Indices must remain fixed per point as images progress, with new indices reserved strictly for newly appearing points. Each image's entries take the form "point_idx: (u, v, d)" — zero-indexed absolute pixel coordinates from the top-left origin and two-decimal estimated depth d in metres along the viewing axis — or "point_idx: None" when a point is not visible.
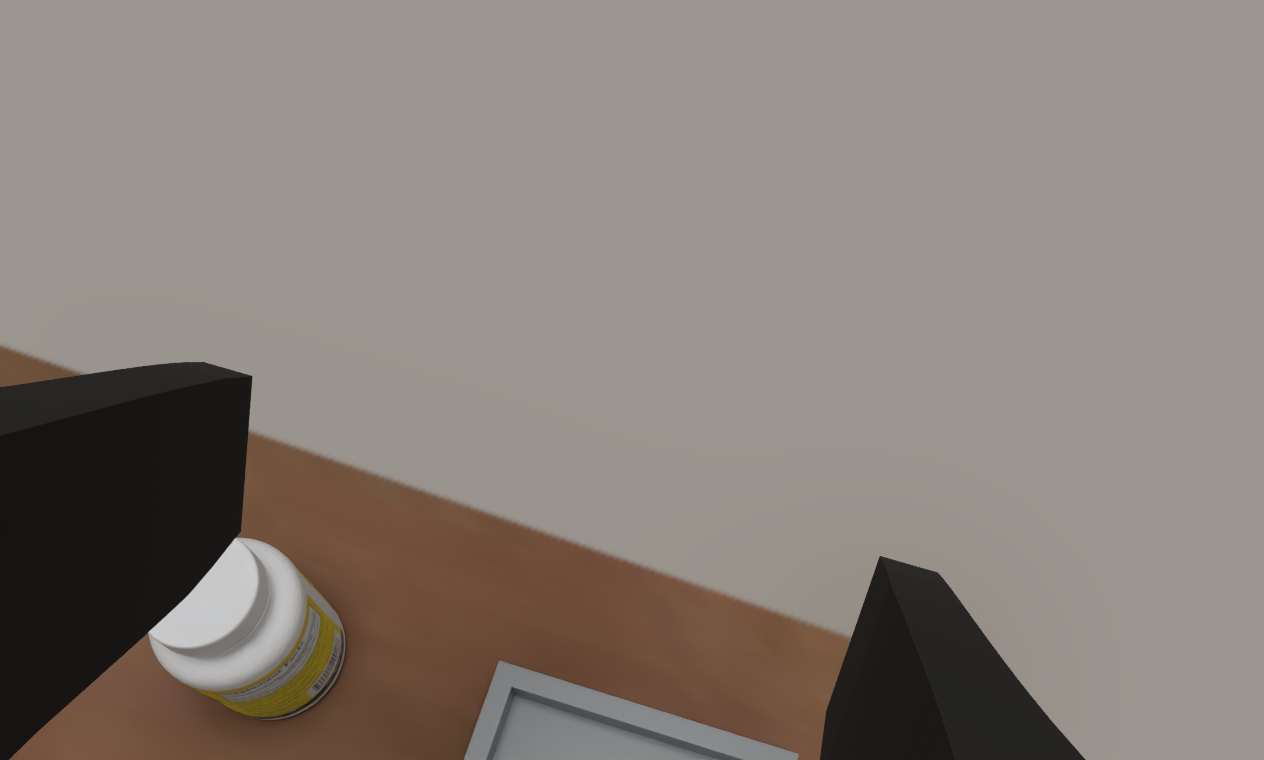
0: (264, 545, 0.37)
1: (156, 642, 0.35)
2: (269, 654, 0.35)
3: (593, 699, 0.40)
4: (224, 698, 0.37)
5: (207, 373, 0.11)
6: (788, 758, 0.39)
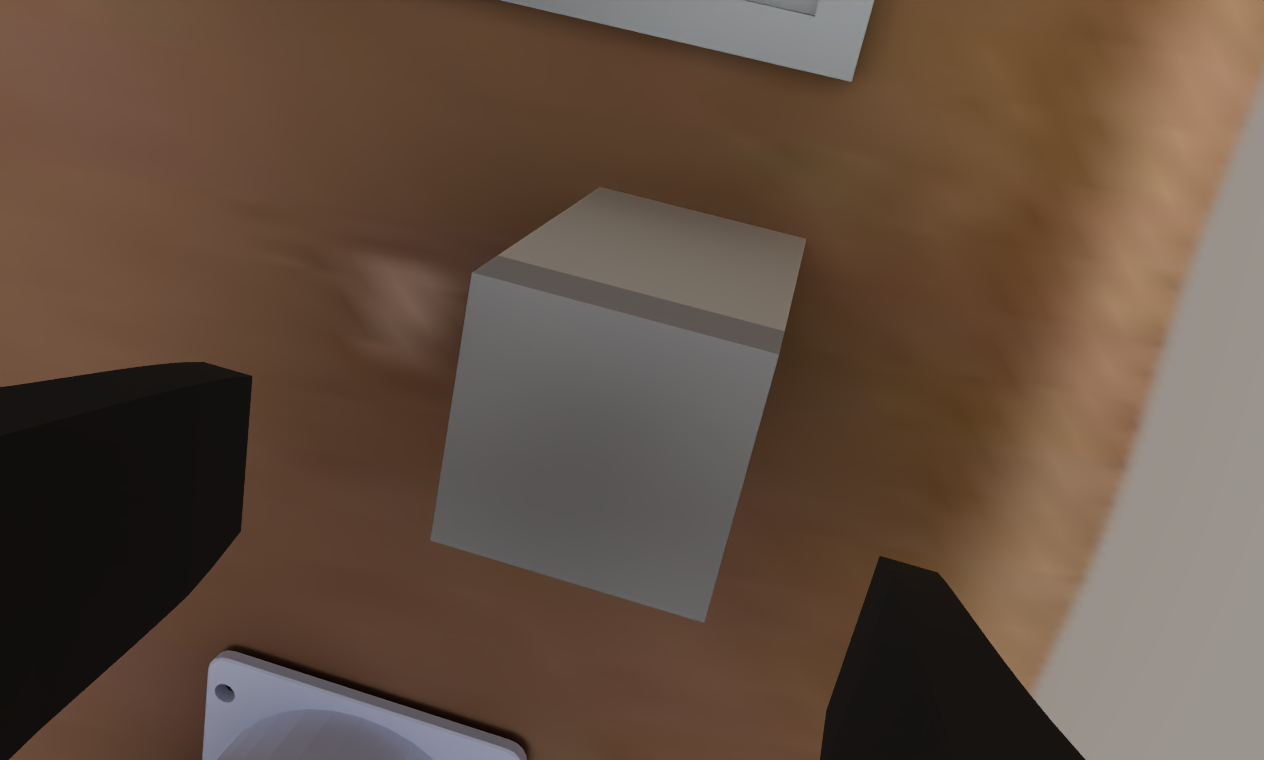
0: None
1: None
2: None
3: None
4: None
5: (207, 373, 0.11)
6: None
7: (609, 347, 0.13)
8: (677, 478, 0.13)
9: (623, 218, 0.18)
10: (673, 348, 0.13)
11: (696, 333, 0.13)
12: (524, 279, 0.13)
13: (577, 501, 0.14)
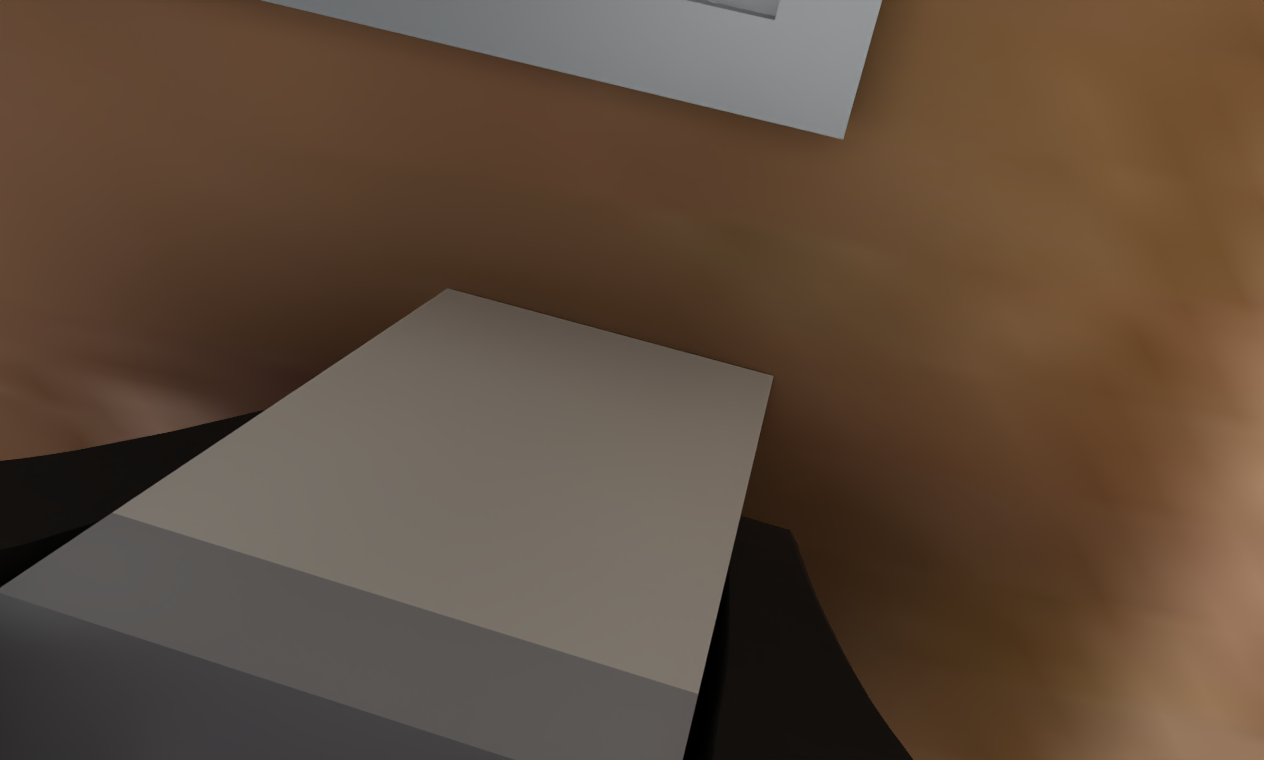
0: None
1: None
2: None
3: None
4: None
5: None
6: None
7: None
8: None
9: (457, 362, 0.10)
10: None
11: (480, 754, 0.06)
12: (124, 595, 0.06)
13: None
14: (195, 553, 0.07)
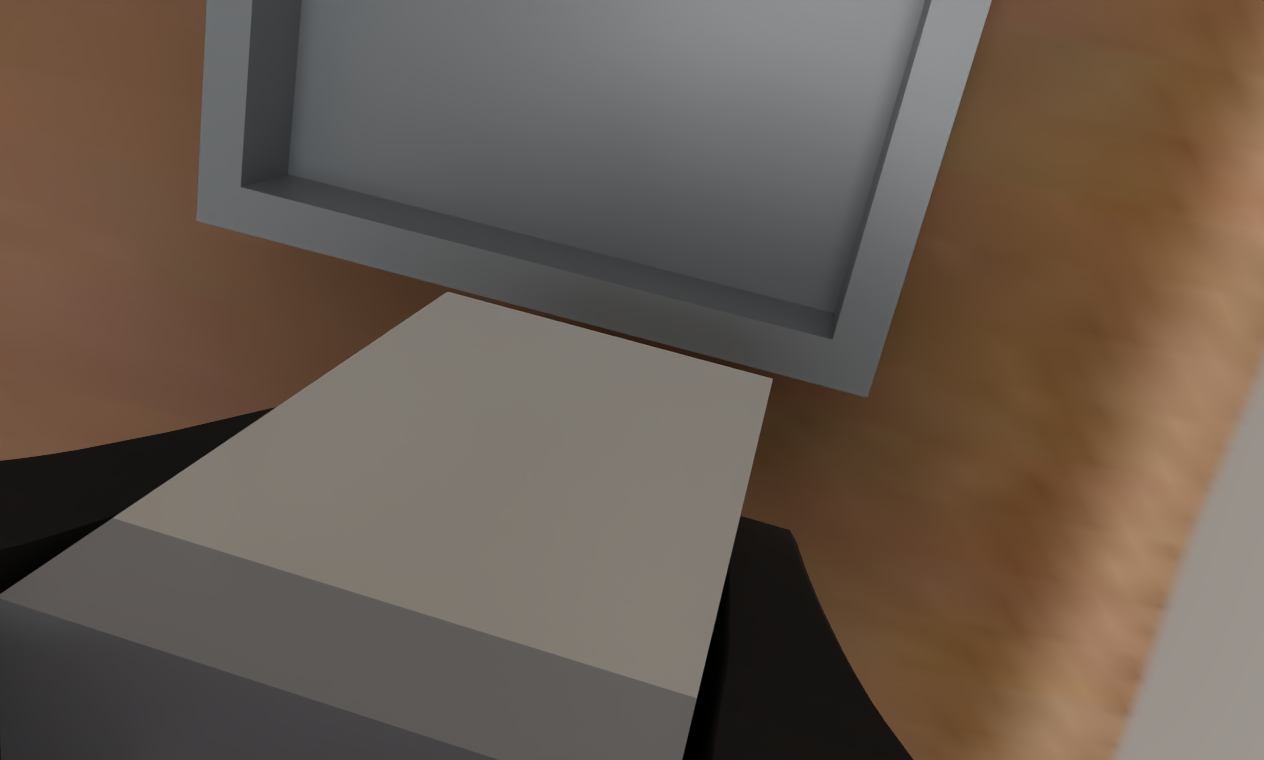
0: None
1: None
2: None
3: None
4: None
5: None
6: None
7: None
8: None
9: (457, 365, 0.10)
10: None
11: (479, 758, 0.06)
12: (124, 599, 0.06)
13: None
14: (195, 557, 0.07)
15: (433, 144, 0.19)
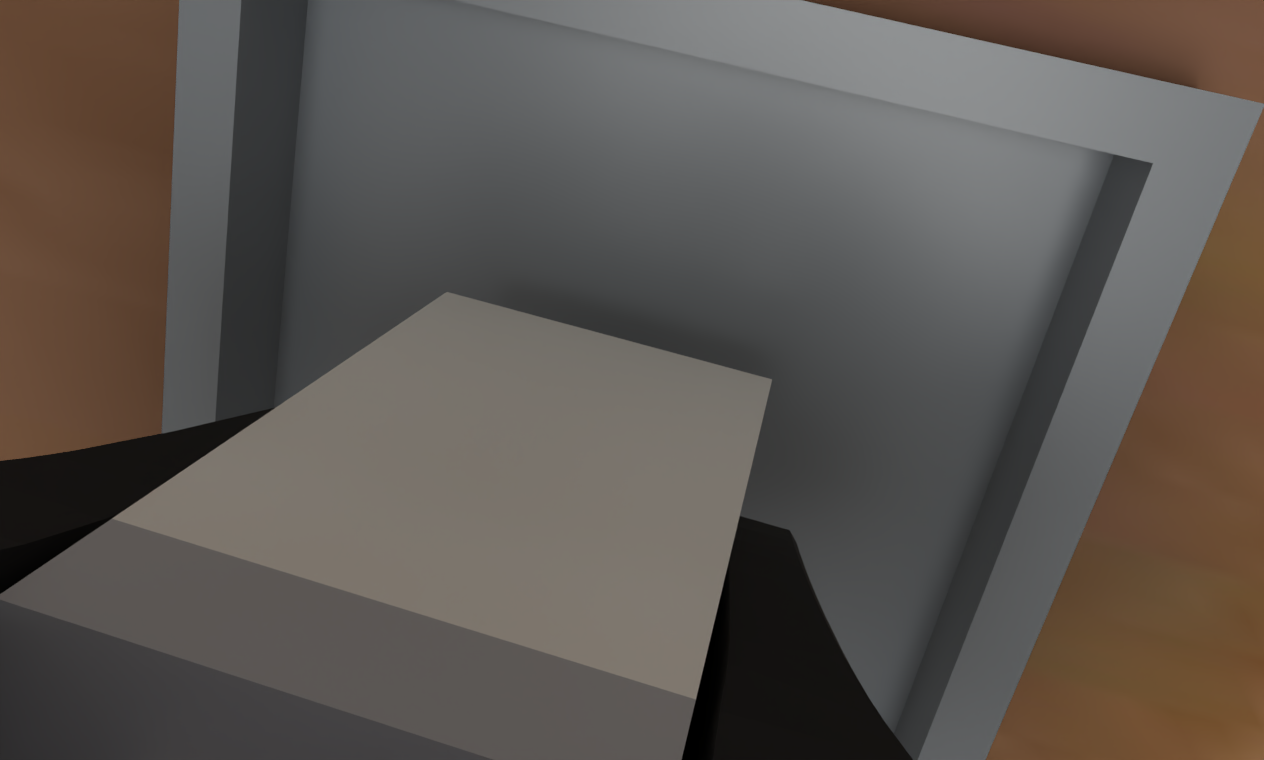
0: None
1: None
2: None
3: None
4: None
5: None
6: (1220, 122, 0.11)
7: None
8: None
9: (456, 366, 0.10)
10: None
11: None
12: (125, 599, 0.06)
13: None
14: (194, 558, 0.07)
15: None
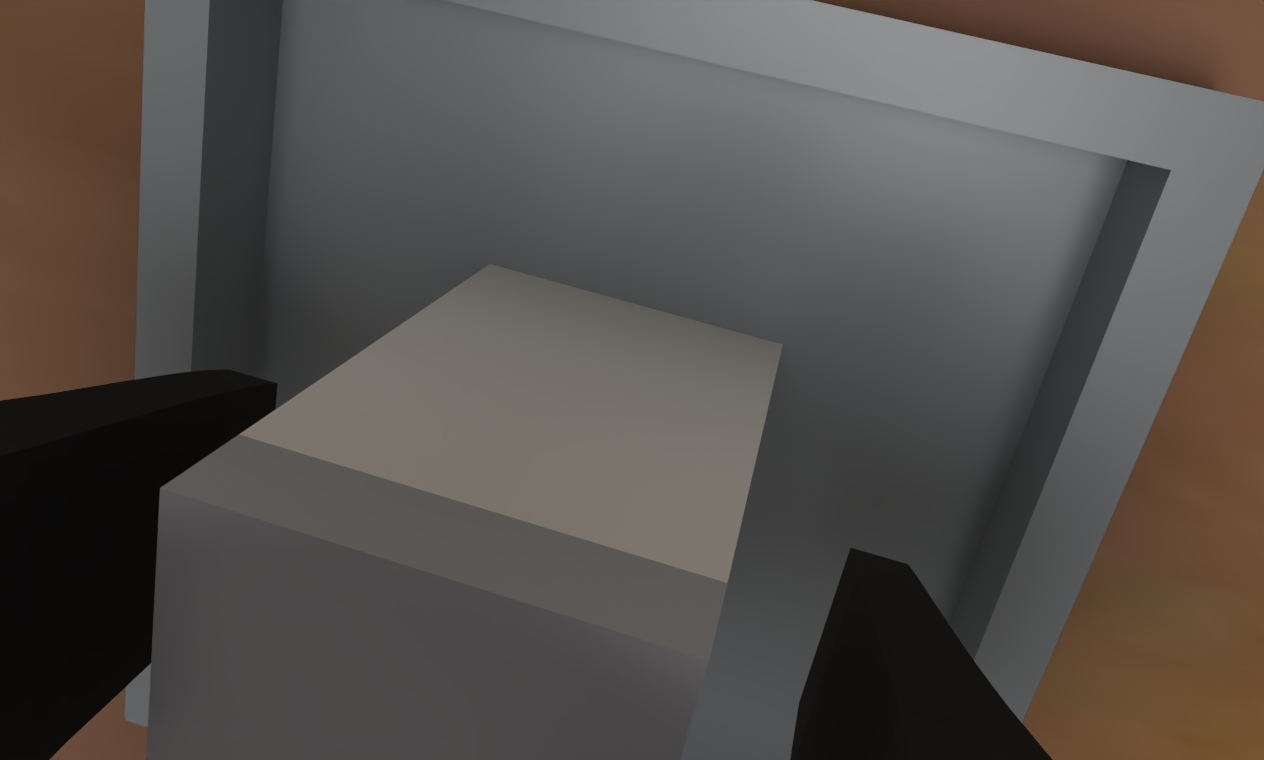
0: None
1: None
2: None
3: None
4: None
5: (233, 381, 0.11)
6: (1242, 126, 0.10)
7: (405, 627, 0.07)
8: None
9: (505, 325, 0.12)
10: (518, 638, 0.07)
11: (557, 616, 0.07)
12: (261, 493, 0.07)
13: None
14: (311, 466, 0.08)
15: None
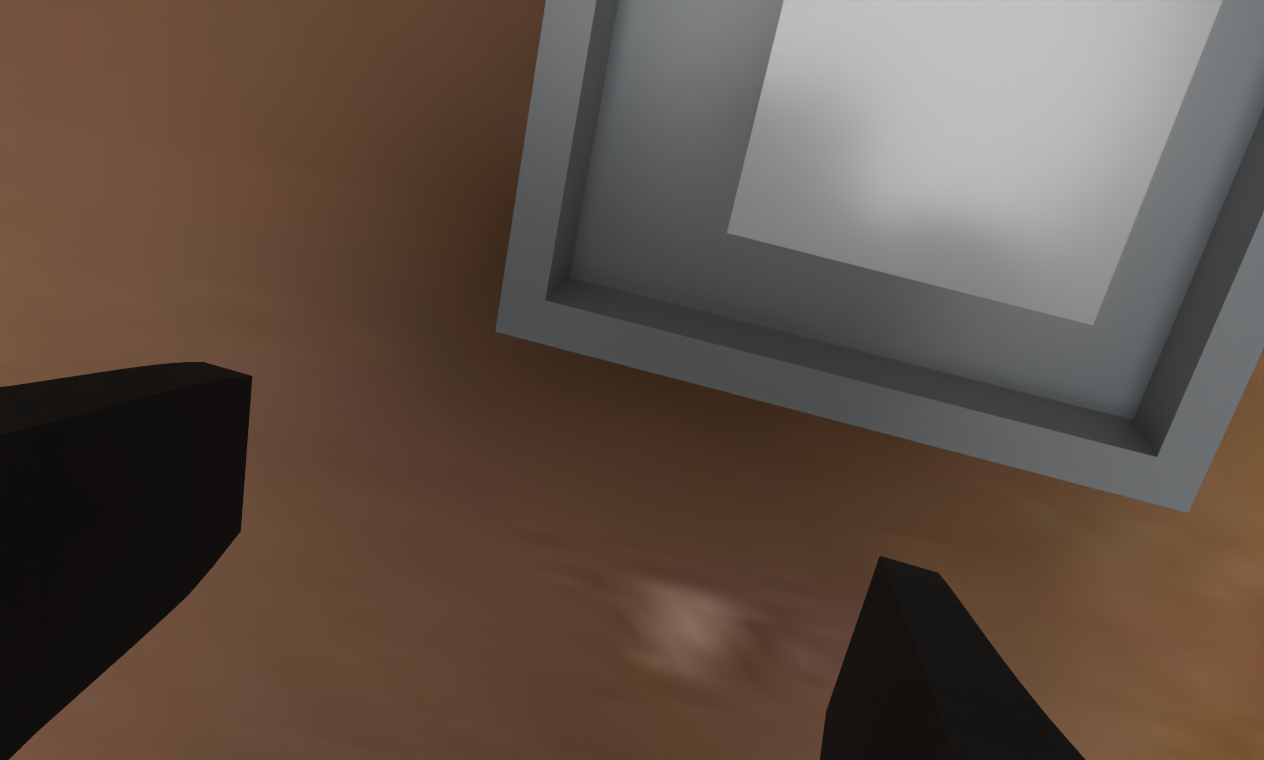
0: None
1: None
2: None
3: None
4: None
5: (207, 373, 0.11)
6: None
7: None
8: (1082, 117, 0.10)
9: None
10: None
11: None
12: None
13: (936, 162, 0.11)
14: None
15: (724, 252, 0.19)
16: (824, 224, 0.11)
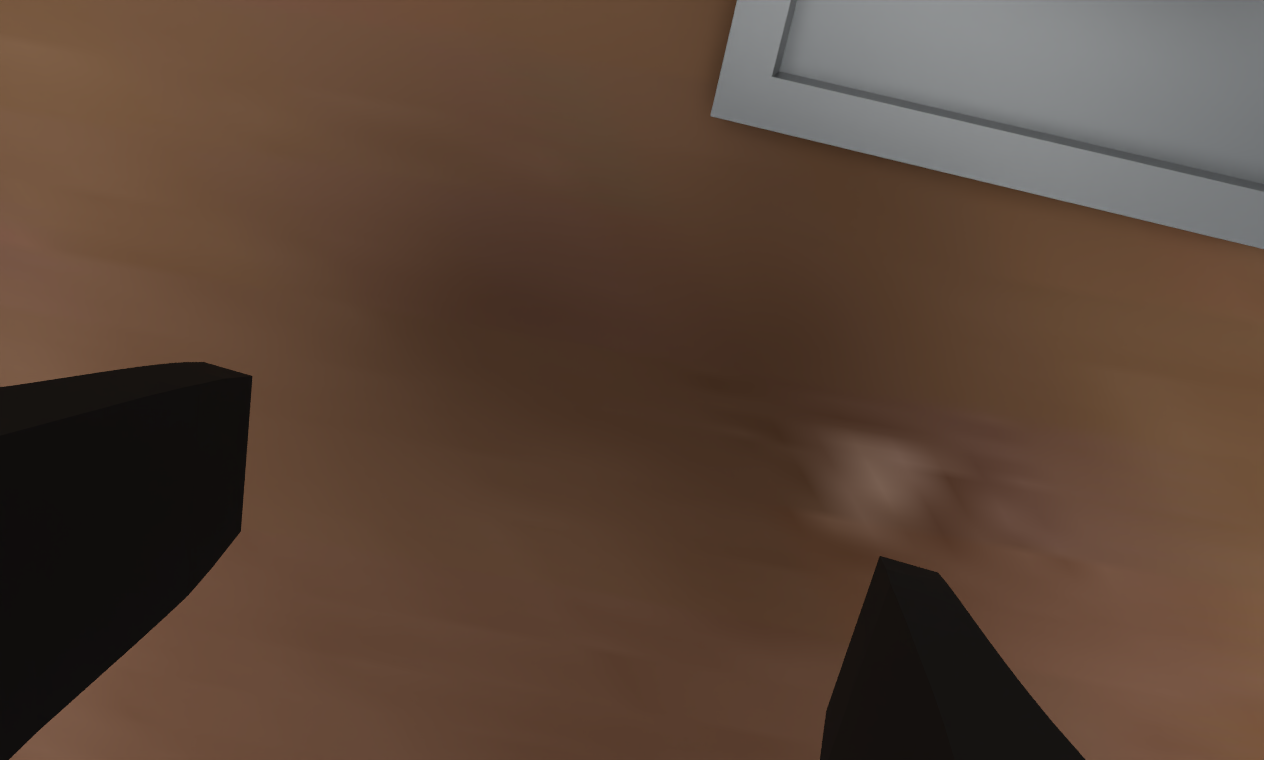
0: None
1: None
2: None
3: None
4: None
5: (207, 373, 0.11)
6: None
7: None
8: None
9: None
10: None
11: None
12: None
13: None
14: None
15: (960, 35, 0.17)
16: None
